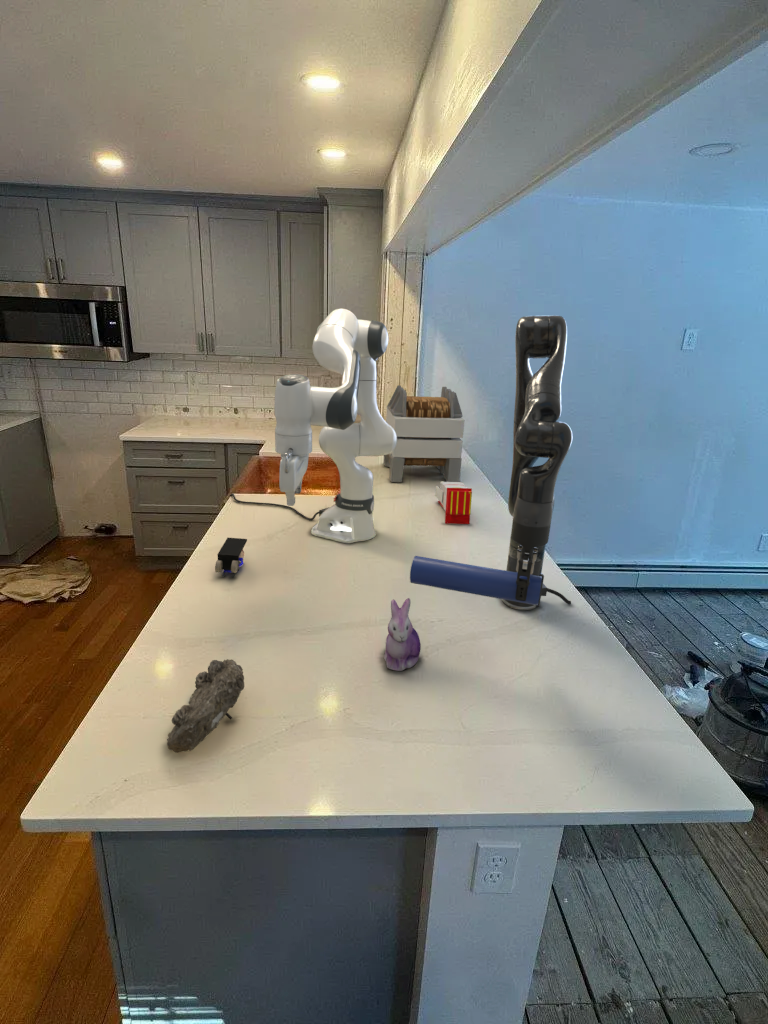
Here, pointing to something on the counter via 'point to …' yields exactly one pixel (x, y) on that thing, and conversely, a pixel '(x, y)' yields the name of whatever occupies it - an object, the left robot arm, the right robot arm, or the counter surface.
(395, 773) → the counter surface
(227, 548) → the figurine character
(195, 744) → the fossil
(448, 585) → the rod
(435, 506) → the counter surface
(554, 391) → the right robot arm
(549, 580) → the counter surface
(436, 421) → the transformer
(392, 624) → the figurine
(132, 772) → the counter surface
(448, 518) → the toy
